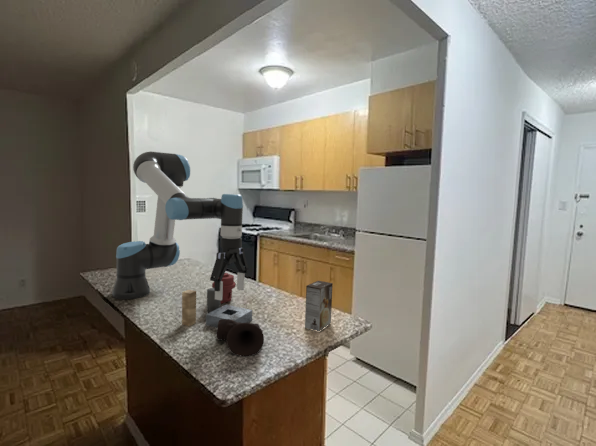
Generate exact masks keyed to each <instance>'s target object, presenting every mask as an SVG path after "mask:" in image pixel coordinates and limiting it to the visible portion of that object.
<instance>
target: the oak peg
mask: <svg viewBox="0 0 596 446" xmlns="http://www.w3.org/2000/svg"><path fill="white" fill-rule="evenodd" d="M195 324H197V291H196V290H192V289H187V290H185V291H182V293H181V325H183V326H186V327H191V326H193V325H195Z"/></svg>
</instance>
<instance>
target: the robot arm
mask: <svg viewBox="0 0 596 446" xmlns="http://www.w3.org/2000/svg"><path fill="white" fill-rule="evenodd" d="M132 170H133V173H134V176H135V177H136V178H137V179H138V181H140V182H142V183H144V184H146V185H147V186H148V187H149V188H150V189H151V190H152V191H153V192H154V194H155V195H156V196H157V202H156V211H155V220H154V229H153V235H152V236H150V238H149V243H146V242H145V241H143V240H142V241H141V240H136V241H135V240H134V241H129V242H124V243H122V244H120V245H118V246H117V247H116V255H115V258H116V261H115V262H116V280H115V283H114V285H113V289H112V292H111V293H112V295H111V296H112V297H113V298H115V299H118V300H131V299H140V298H143V297H146V296H148V295H149V294H150V292H151V290H150V289H151V288H150V285H149V282H148V278H147V276H146V270H151V269H158V268H167V267H171V266H174V265H175V264H176V263H177V262H178V260H179V258H180V254H181V253H180V252H181V250H180V245H179V243H177V240H176V239H175V238H174V232H175V226H176V221H183V220H185V221H186V220H204V219H205V220H206V219H207V220H208V219H209V220H210V219H217V220H220V236H221V238H220V248H221V249H222V252H216V256H215V261H214V265H213V268H212V271H211V274H210V278H209V280H210V281H211V282H214V290H215V299H216V300H222V297H223V282H222V281H221V280H222V278H223V276H224V274H225V273H226V271H227V270H228V267H229V266H230V265H231V264H233V263H234V265H235V267H236V268H237V271H238V272H237V274H236V276H237V277H236V278H237V280H236V281H237V282H236V290H238V291H245V280H246V279H245V276H246V275H245V274H248V271H249V265H248V261H247V257H246V255H245V248H244V247H242V246H243V243H242V242H243V239H242V235H243V234H242V233H243V212H244V205H243V204H244V203H243V195H242V194H234V193H233V194H232V193H223V194H221V196H220V197H221V198H217V197H207V198H205V197H203V198H201V197H189V196H188V195H186V193H185V192H184V191H183V190H182V189H181V188H183V187H184V182H186V181H188V180H189V179H190V176H191V166H190V163H189V160H188V158H187V157H185V156H184V155H181V154H177V153H170V152H161V151H160V152H159V151H146V152H143V153H141V154H139V155H138V156H137V157H136V158H135V160H134V161H133V165H132Z"/></svg>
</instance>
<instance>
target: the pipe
mask: <svg viewBox="0 0 596 446" xmlns="http://www.w3.org/2000/svg"><path fill="white" fill-rule="evenodd" d="M263 332H264V331H263V329H262V328H261V326H260V325H259V323H252V322H249V323H247V322H246V323H241V322H236V321H234V320H230V319H221V320H219V322H218V326H217V328H216V339H217V340H218V341H225V342H226V345H227V348H228V349H229V351H230V352H231V354H234V355H236V356H240V357H251V356H255V355H256V354H258V353H259V352H260V351H261V350H262V348H263V346H264V342H265V337H264V333H263Z"/></svg>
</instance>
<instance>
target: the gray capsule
mask: <svg viewBox="0 0 596 446" xmlns="http://www.w3.org/2000/svg"><path fill="white" fill-rule="evenodd" d="M206 290H207V291H206V314H208V313H210V312H212V311H214V310H216V309H218V308H220V307H221V304H220V300H216V299H215V290H214V288H213V287H211V288H207V289H206Z"/></svg>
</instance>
